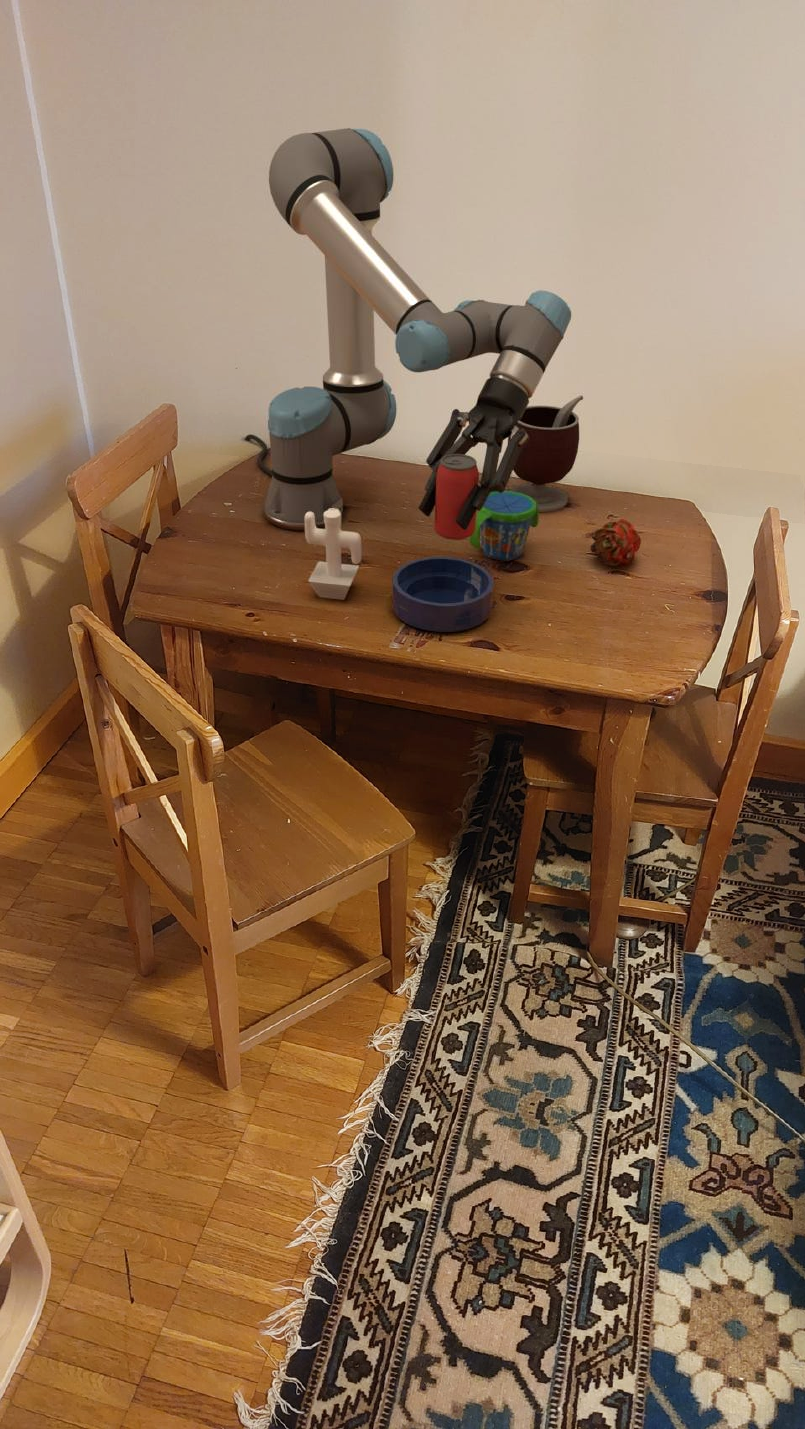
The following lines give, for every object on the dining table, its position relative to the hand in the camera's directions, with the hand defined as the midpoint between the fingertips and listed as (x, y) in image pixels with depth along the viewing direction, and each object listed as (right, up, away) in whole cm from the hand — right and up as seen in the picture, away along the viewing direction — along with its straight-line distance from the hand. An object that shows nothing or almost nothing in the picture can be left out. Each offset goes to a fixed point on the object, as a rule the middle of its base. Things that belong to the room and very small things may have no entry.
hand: (442, 518), depth 157 cm
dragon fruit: (+32, -2, +28) cm, 43 cm away
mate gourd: (+22, +14, +49) cm, 56 cm away
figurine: (-18, -10, +17) cm, 26 cm away
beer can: (+2, -1, +5) cm, 5 cm away
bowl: (0, -13, +13) cm, 18 cm away
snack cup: (+12, -1, +30) cm, 32 cm away
